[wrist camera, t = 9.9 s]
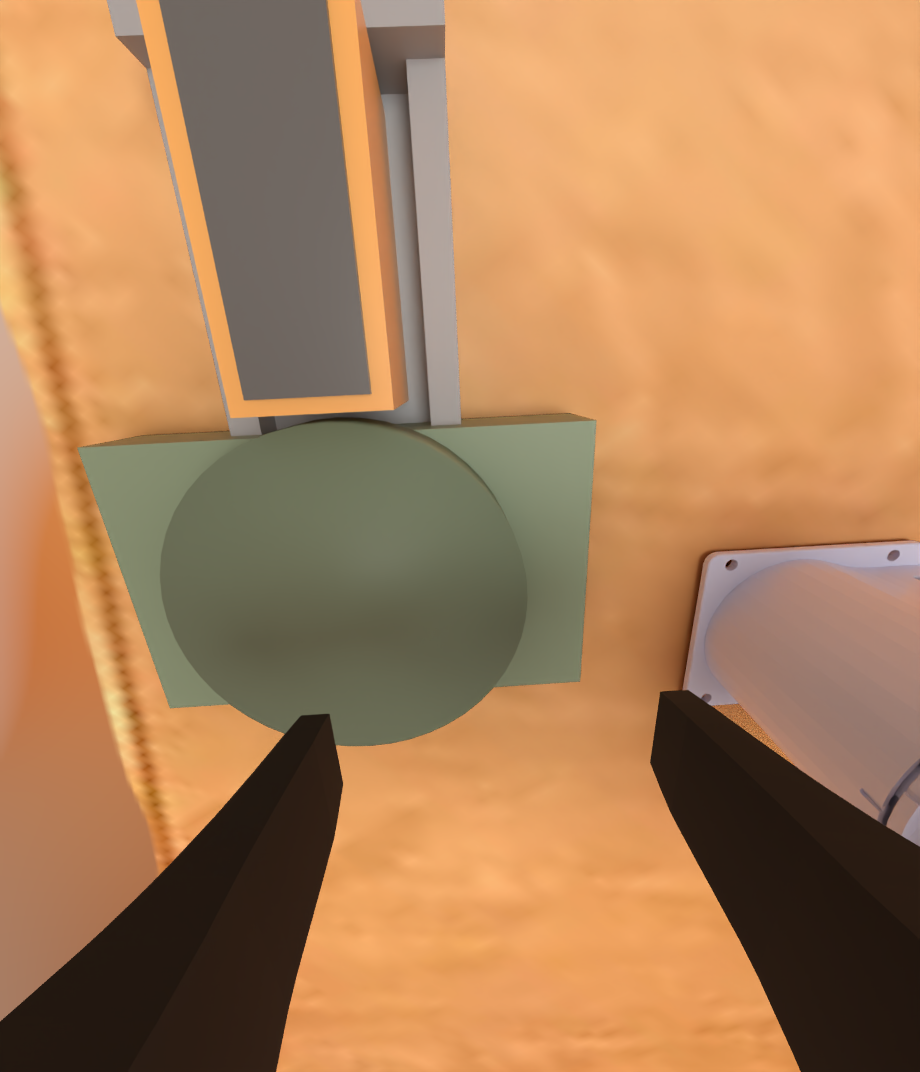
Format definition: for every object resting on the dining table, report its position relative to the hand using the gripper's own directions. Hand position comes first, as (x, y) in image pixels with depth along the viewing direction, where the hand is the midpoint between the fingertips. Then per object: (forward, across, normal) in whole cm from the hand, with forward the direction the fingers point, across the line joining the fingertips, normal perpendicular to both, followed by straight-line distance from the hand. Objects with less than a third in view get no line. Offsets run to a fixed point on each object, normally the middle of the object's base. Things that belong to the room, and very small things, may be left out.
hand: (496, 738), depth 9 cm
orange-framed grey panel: (+9, +4, -11) cm, 14 cm away
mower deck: (+9, +4, -6) cm, 12 cm away
